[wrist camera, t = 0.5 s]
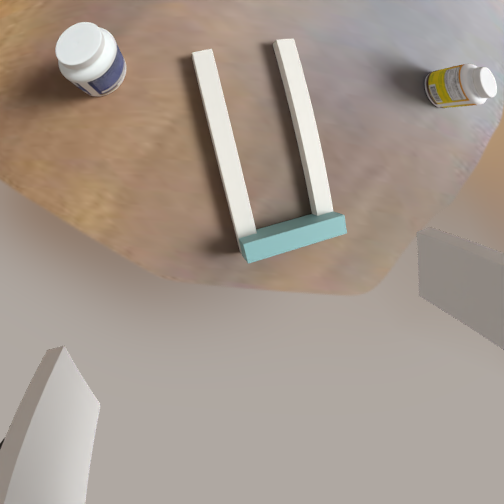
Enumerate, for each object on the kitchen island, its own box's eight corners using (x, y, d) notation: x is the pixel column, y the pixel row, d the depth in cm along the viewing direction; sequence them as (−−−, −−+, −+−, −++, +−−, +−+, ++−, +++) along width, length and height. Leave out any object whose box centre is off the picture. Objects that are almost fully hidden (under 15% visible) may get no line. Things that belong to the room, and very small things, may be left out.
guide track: (191, 57, 29) (193, 43, 25) (289, 42, 30) (302, 30, 27) (240, 252, 35) (248, 263, 32) (330, 226, 37) (346, 233, 33)
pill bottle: (130, 50, 27) (116, 11, 18) (123, 96, 28) (104, 70, 19) (82, 53, 26) (54, 18, 16) (76, 99, 27) (42, 77, 18)
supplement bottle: (450, 85, 36) (502, 78, 26) (444, 115, 37) (497, 112, 27) (426, 64, 34) (478, 51, 25) (419, 94, 35) (473, 86, 26)
